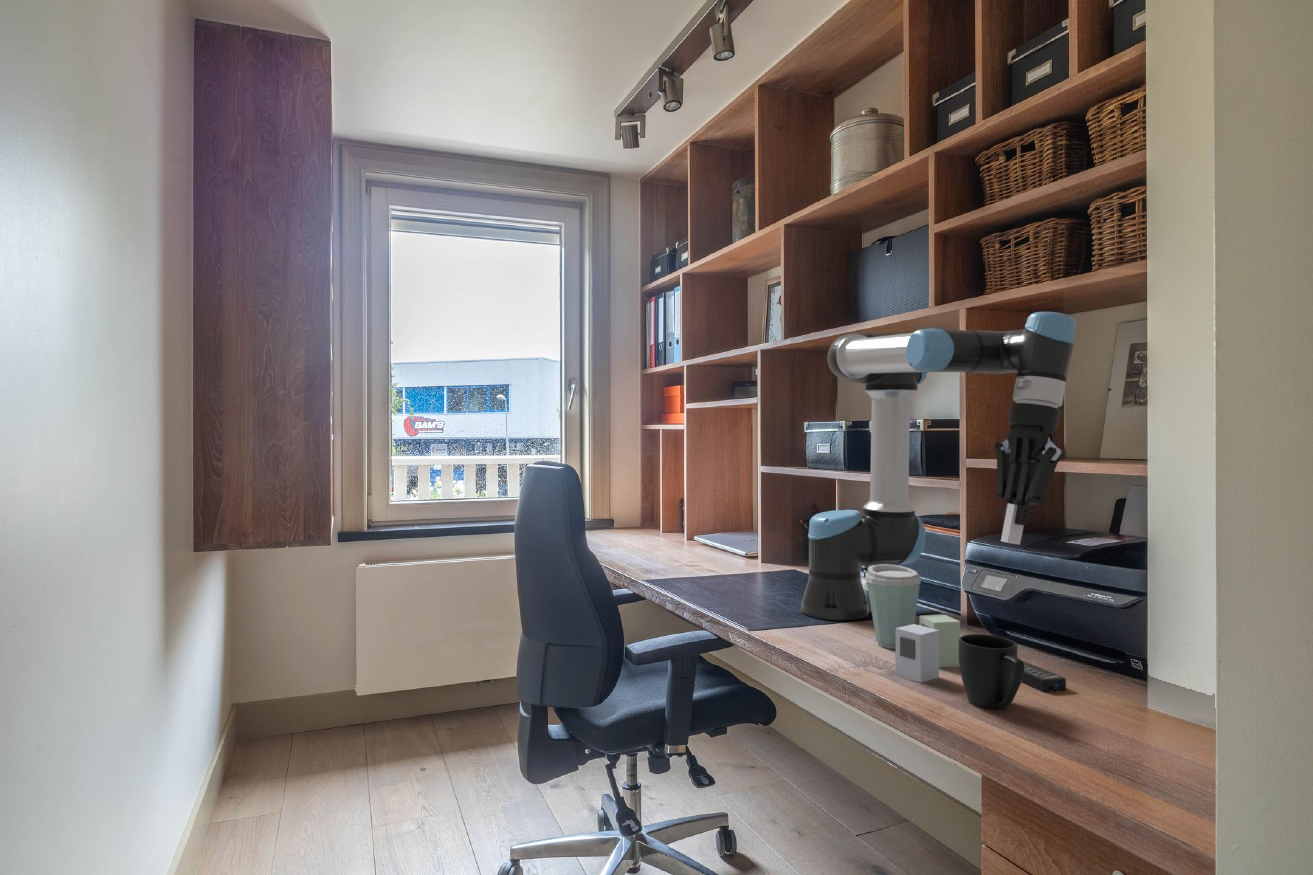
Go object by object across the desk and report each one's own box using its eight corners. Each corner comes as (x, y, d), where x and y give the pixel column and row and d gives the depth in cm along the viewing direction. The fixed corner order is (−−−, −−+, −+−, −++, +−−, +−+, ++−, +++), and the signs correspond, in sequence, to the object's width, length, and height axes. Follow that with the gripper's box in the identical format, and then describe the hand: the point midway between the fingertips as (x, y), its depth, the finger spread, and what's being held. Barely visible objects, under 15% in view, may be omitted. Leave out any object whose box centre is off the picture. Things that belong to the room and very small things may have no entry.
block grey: (894, 674, 125) (894, 628, 125) (914, 669, 128) (914, 623, 128) (919, 683, 121) (919, 634, 121) (939, 677, 124) (939, 630, 124)
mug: (991, 724, 104) (991, 657, 104) (948, 694, 116) (948, 634, 116) (1045, 721, 105) (1045, 655, 105) (997, 692, 117) (997, 632, 117)
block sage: (918, 659, 134) (918, 615, 134) (944, 657, 135) (944, 614, 135) (932, 667, 129) (932, 622, 129) (959, 666, 130) (960, 621, 130)
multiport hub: (1018, 671, 128) (1018, 658, 128) (1067, 692, 118) (1067, 678, 118) (996, 673, 127) (996, 660, 127) (1044, 694, 117) (1044, 680, 117)
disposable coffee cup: (934, 648, 141) (934, 570, 141) (892, 656, 136) (892, 575, 136) (893, 635, 150) (893, 562, 150) (852, 641, 145) (852, 566, 145)
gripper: (989, 400, 128) (965, 532, 128) (1050, 401, 116) (1023, 548, 116) (1023, 408, 130) (999, 538, 131) (1086, 410, 118) (1059, 553, 118)
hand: (1010, 542), depth 123 cm, fingers closed
